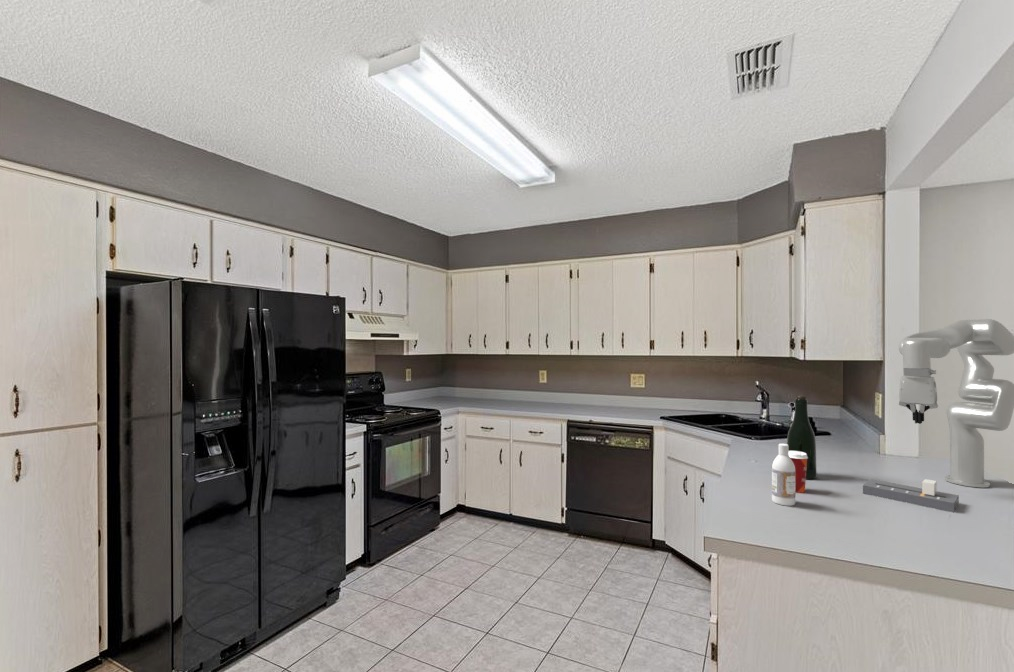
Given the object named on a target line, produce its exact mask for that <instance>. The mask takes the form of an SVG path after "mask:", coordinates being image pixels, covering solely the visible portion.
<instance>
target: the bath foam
mask: <svg viewBox="0 0 1014 672" xmlns="http://www.w3.org/2000/svg"><path fill="white" fill-rule="evenodd" d="M788 452H789V446H788V445H787V443H779V444H778V454H777V455H776V457H775V458H774V460H773V462H772V466H771V501H772V502H773V503H775V504H776V505H780V506H787V507H788V506H789V507H791V506H795V504H796V492H795V466H794V463H793V461H792V460H791V458H790V457H789V455H788Z"/></svg>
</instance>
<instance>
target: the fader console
mask: <svg viewBox="0 0 1014 672" xmlns="http://www.w3.org/2000/svg"><path fill="white" fill-rule="evenodd" d="M862 494H864V495H867V496H873V497H877V496H878V498H882V497H883V498H882V499H887V498H888V500H892V499H893V500H892V501H897V502H901V501H902V503H906V502H907V504H910V505H911V504H913V505H917V506H921V505H922V506H921V507H925V506H926V508H931V509H936V510H941V511H945V512H949V513H950V512H951V513H955V512H956V509H957V508H958V506H959V504H960V501H959V500H960V499H959V498H960V497H959V494H954V493H949V492H944V491H938V490H937V493H936V494H935V495H934V496H933V495H927V494H922V487H918V486H917V487H916V486H911V485H906V484H900V483H895V482H889V481H884V480H880V479H879V480H878V479H874V478H870V479H869V480H868V481H866V482H865V483H864V484H862Z"/></svg>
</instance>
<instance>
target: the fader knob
mask: <svg viewBox="0 0 1014 672" xmlns="http://www.w3.org/2000/svg"><path fill="white" fill-rule="evenodd" d="M921 485H922V487H921V488H922V494H927V495H933V496H934V495H935V494H936V493H937V491H938V490H937V480H933V479H926V478H924V480H922V482H921Z"/></svg>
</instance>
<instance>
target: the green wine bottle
mask: <svg viewBox="0 0 1014 672" xmlns="http://www.w3.org/2000/svg"><path fill="white" fill-rule="evenodd" d="M794 403H795V405H794V406H795V408H794V416H793V420H792V423H791V425H790V428H789V429H788V432H787V438H786V444H787V445H788V446H789V451H799V452H804V453H806V454H807V457H808V458H807V468H806V480H814V479H816V478H817V467H818V465H817V442H816V436H815V432H814V429H813V428H812V425H811V423H810V419H809V413H808V399H807V396H805V395H796V398H795V399H794Z"/></svg>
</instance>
